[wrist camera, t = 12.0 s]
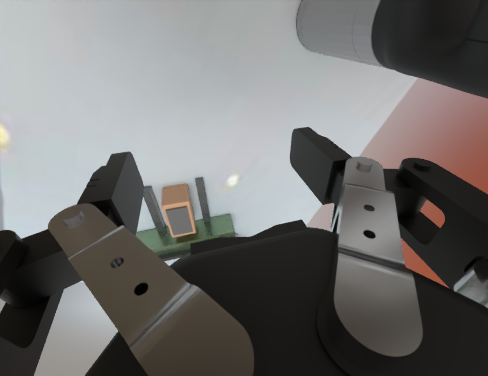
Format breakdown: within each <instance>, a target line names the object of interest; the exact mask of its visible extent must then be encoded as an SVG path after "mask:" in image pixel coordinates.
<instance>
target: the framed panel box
mask: <svg viewBox="0 0 488 376" xmlns="http://www.w3.org/2000/svg"><path fill="white" fill-rule="evenodd" d="M162 209H163V212H164V215H165V218H166V221H167V224H168V227H169V230H170V233H171V236H172V238H173V237H178V236H183V235H188V234H193V233H196V228H195V218H194V212H193V207H192V203H191V198H190V194H189V190H188V185H187V184H182V185H176V186H170V187H164V188H163V192H162Z"/></svg>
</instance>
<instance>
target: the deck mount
mask: <svg viewBox="0 0 488 376" xmlns="http://www.w3.org/2000/svg"><path fill="white" fill-rule="evenodd" d="M196 186H197V191H198V196H199V200H200V205H201V210H202V215H203V219H201V220H196V221H195V228H196V233H193V234H188V235H183V236H178V237H173V238H172V236H171V233H170V230H169V227H168V226H165V223H164V221H163V218H162V215H161V212H160V210H159V207H158V204H157V201H156V199H155V196H154V193H153V190H152V187H151V186H148V187H144V194H143V197H144V199H145V202H146V204H147V207H148V209H149V212H150V214H151V217H152V219H153V222H154V224H155V227H156V229H151V230H146V231H141V232H137V233H136V237H137V238H138V239H139V240H140V241H142V242H143V243H144V244H145V245H146V246H147V247H148V248H149V249H151V250H152V251H153V252H154V253H155V254H156V255H157V256H158V257H160V258H161V259H162V260H163V261H167V260H172V259H176V258H181V257H183V256H185V255H187V254H189V253H191V252H190V243H195V242H200V241H204V240H209V239H214V238H218V237H235V230H234V226H233V223H232V220H231V216H230V214H227V215H221V216H216V217H211V218H210V216H209V210H208V205H207V199H206V194H205V188H204V183H203V177H202V178H196Z"/></svg>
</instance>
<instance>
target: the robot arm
mask: <svg viewBox="0 0 488 376" xmlns="http://www.w3.org/2000/svg"><path fill="white" fill-rule="evenodd" d="M297 32H298V36H299V39H300V41H301V43H302V44H303V46H304V47H305V48H306V49H308V50H310V51H312V52H316V53H320V54H324V55H329V56H333V57H338V58H342V59H347V60H351V61H356V62H360V63H365V64H369V65H374V66H379V67H383V68H388V69H393V70H396V71H398V72H400V73H403V74H406V75H410V76H414V77H418V78H423V79H426V80H429V81H433V82H436V83H439V84H442V85H445V86H448V87H451V88H454V89H457V90H461V91H464V92H467V93H470V94H474V95H477V96H481V97H484V98H488V0H302V2H301V4H300V8H299V11H298V15H297ZM290 162H291V165H292V167H293V168H294V170H295V171H296V172H297V173H298V175H299V176H300V177H301V178H302V180H303V181H304V182H305V183H306V185H307V186H308V187H309V188H310V190H311V191H312V192H313V193H314V195H315V196H316V197H317V198H318V200H319V201H320V202H321V203H322V205H325V204H329V203H334V208H333V212H332V218H331V224H330V230H329V231H327V230H324V229H319V228H310V227H308V228H307V227H306V225H305V223H304V222H303V220H298V221H293V222H288V223H284V224H279V225H275V226H273V227H271V228H269V229H267V230H265V231H262V232H260V233H258V234H256V235H254V236H251V237H218V238H214V239H209V240H204V241H200V242H195V243H190V252H191V253H189V254H187V255H185V256H183V257H182V258H180V259H178V260H177V261H176V262H174V263H173V264H172V265H170V266H169V265H167V264H166V263H165V262H164V261H163V260H162V259H161V258H160V257H158V256H157V255H156V254H155V253H154V252H153V251H152V250H151V249H149V248H148V247H147V246H146V245H145V244H144V243H143V242H142V241H140V240H139V239H138V238H137V237H136V232H137V226H138V221H139V215H140V210H141V205H142V199H143V194H144V186H143V181H142V178H141V176H140V173H139V171H138V168H137V165H136V163H135V160H134V158H133V155H132V154H131V152H123V153H115V154H111V156H110V158H109V160H108V163H107V165H106V166H101V167H100V168H99V169H98V170H97V171H95V172H94V173H93V175H92V177H91V179H90V182H88V184H87V186H86V187H87V188H85V190H84V192H83V193H82V195H81V197H80V199H79V201H78V203H77V205H74V206H71V207H68V208H66V209H64V210H62V211H61V212H59V213H58V214H56V215H55V216H54V217H53V218H52V219H51V220H50V222H49V224H48V229H47V230H44V231H42V232H39V233H36V234H33V235H31V236H28V237H25V238H23V239H21V238H20V237H19V236H18V235H17V234H16V233H15V232H14V231H11V230H2V231H0V298H1V299H2V300H4V301H5V302H6V303H5V305H4V307H3V309H2V311H1V313H0V376H34V373H35V370H36V367H37V364H38V362H39V359H40V356H41V353H42V350H43V347H44V344H45V342H46V339H47V336H48V333H49V330H50V327H51V324H52V322H53V319H54V316H55V313H56V310H57V307H58V304H59V302H60V299H61V296H62V293H63V290H64V289H65V288H67V287H69V286H71V285H74V284H76V283H78V282H80V281H82V280H83V281H84V283H85V284H86V286H87V287H88V288H89V290H90V291H91V293H92V294H93V295H94V297H95V298H96V300H97V301H98V303H99V304H100V305H101V307H102V308H103V310H104V311H105V312H106V314H107V315H108V317H109V318H110V320H111V321H112V322H113V324H114V325H115V327H116V328H117V329H118V332H117V333H116V335H115V336H114V338H113V339H112V340H111V341H110V343H109V344H108V345H107V347H106V348H105V349H104V351H103V352H102V353H101V355H100V356H99V357H98V359H97V360H96V361H95V363H94V364H93V365H92V367H91V368H90V369H89V371H88V372H87V373H86V375H85V376H488V194H486V193H485V192H483V191H481V190H479V189H478V188H476V187H474V186H473V185H471V184H469V183H467V182H466V181H464V180H462V179H461V178H459V177H457V176H456V175H454V174H452V173H450V172H449V171H447V170H445V169H444V168H442V167H440V166H439V165H437V164H435V163H433V162H431V161H428V160H424V159H419V158H407V159H404V160H403V161H402V162H401V165H400V167H399V169H383V167H382V165H381V164H380V163H379V162H377V161H375V160H373V159H370V158H365V157H351V156H350V155H349V154H348V153H346V152H345V151H344V150H342V149H341V148H339V147H338V146H337V145H336V144H334V143H333V142H332V141H331V140H329V139H328V138H326V137H323V136H321V135H319V134H317V133H316V132H315V131H313V130H312V129H311V128H310V127H305V128H297V129H294V130H293V132H292V140H291V150H290ZM427 199H428V200H429V201H430V202H432V203H433V204H434V205H436V206H437V207H438V208H439V209H440V210H442V212H443V213H444V215H445V222H444V224H443V225H442V227H441V228H439V227H438V226H437V225H436V224H434V223H433V222H432V221H431V220H430V219H428V218H427V217H426V216H425V215H424V214H423V213H421V212H420V210H421V208H422V206H423V205H424V203H425V201H426V200H427ZM401 238H402V239H403V240H404V241H405V242H406V243H407V244H408V245H409V246H410V247H411V248H412V249H413V250H414V251H415V253H416V254H417V255H418V256H419V257H420V258H421V259H422V260H423V261H424V262H425V263H426V264H427V265H428V266H429V267H430V268H431V269H432V270H433V271H434V272H435V273H436V274H437V275H438V277H440V279H441V280H442V281H443V282H444V283H445V284H446V285H447V286H448V287H449V288H450V289H449V288H447V287H445V286H443V285H441V284H439V283H437V282H435V281H433V280H431V279H429V278H427V277H425V276H423V275H421V274H419V273H416V272H414V271H412V270H410V269H408V268H406V266H405V263H404V257H403V252H402V244H401Z"/></svg>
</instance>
